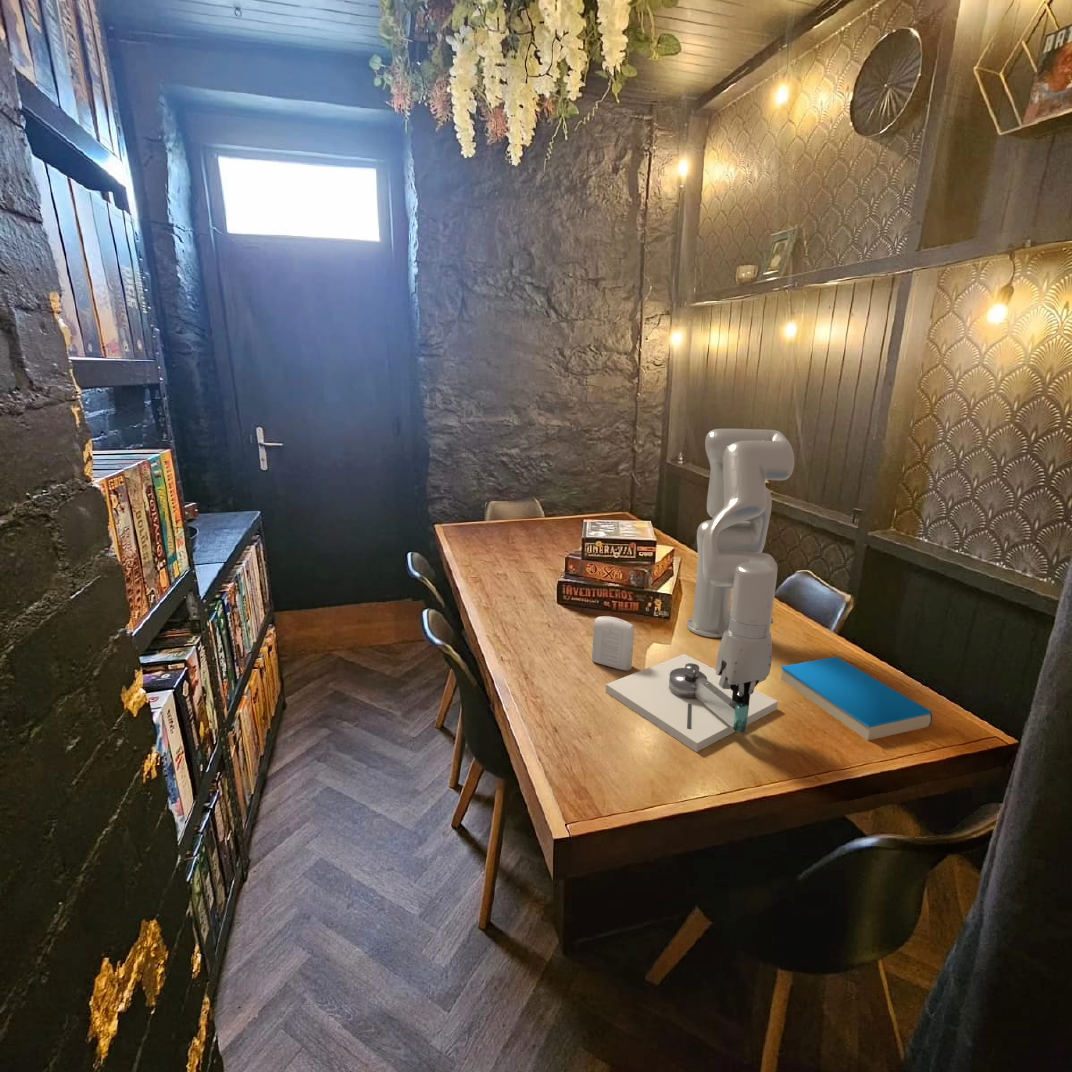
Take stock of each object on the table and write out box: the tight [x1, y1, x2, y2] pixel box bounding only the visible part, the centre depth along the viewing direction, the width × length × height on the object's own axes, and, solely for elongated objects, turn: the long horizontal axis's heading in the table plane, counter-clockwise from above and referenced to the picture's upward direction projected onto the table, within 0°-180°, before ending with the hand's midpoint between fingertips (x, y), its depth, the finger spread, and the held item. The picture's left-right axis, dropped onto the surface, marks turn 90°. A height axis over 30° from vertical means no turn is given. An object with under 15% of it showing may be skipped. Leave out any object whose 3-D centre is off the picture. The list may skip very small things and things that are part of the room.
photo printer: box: [591, 615, 635, 672], centre depth 141 cm, size 10×4×12 cm, turn 60°
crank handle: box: [669, 663, 749, 733], centre depth 120 cm, size 22×8×6 cm, turn 21°
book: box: [780, 656, 933, 742], centre depth 127 cm, size 17×4×25 cm
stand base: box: [605, 653, 779, 753], centre depth 127 cm, size 26×26×2 cm
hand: (739, 709), depth 116 cm, fingers closed
